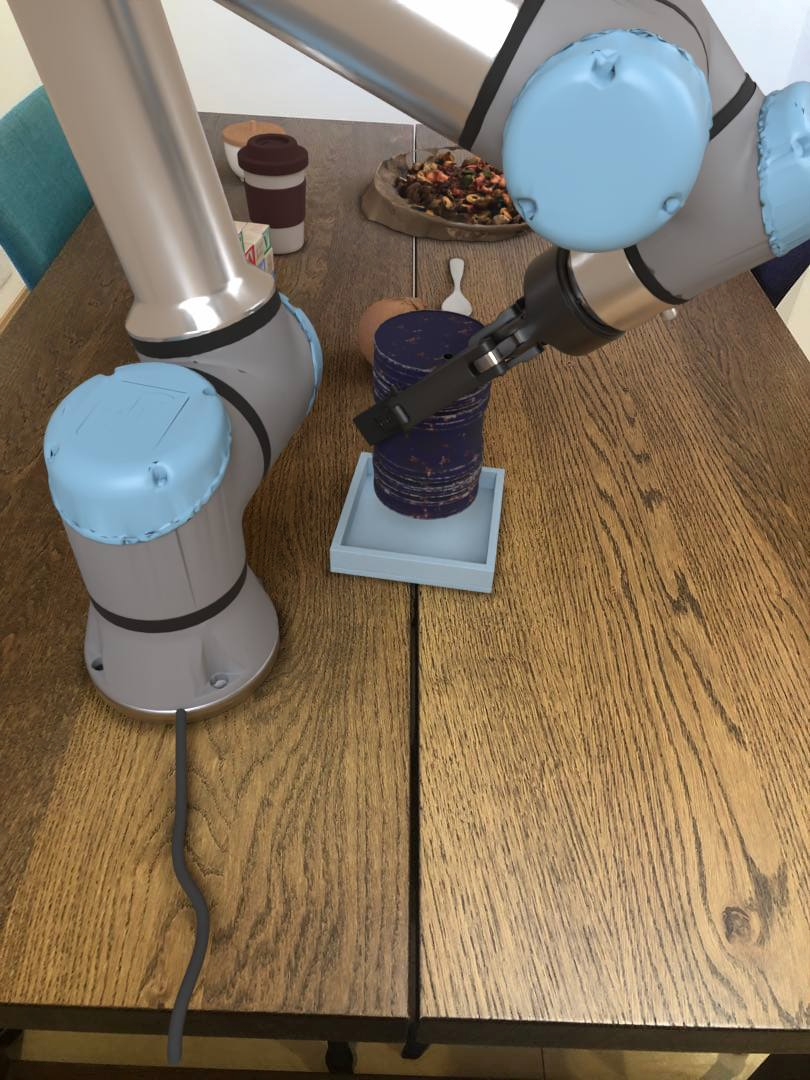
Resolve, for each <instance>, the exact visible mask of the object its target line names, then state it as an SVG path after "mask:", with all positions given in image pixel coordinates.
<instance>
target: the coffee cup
mask: <svg viewBox="0 0 810 1080" xmlns="http://www.w3.org/2000/svg"><path fill="white" fill-rule="evenodd" d="M237 158H238V165H239V167H240V168H241V169H243V171H244V182H243V186H244V192H245V198H246V204H247V211H248V217H249V220H250V221H251V223H257V224H265V225H269V226H270V236H271V248H272V249H273V255H287V254H292V253H295V252H297V251H299V250H301V248H302V247H303V245H304V241H305V240H304V239H305V235H304V234H305V219H306V206H307V204H306V203H307V201H306V200H307V198H306V197H307V179H306V176H305V169H306V168H308V166H309V163H310V162H309V161H310V159H309V151H308V150H307V148H305V147H303V145H299V143H298V141H297V139H295V137H293V136H291V135H288V134H286V135H285V134H277V133H266V134H259V135H256V136H253V137H251V138H250V139H249V140H248V141H247V145H246V146H244V147H242V148H241V149H240V150H239V151H238V153H237Z"/></svg>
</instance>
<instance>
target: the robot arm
mask: <svg viewBox="0 0 810 1080" xmlns="http://www.w3.org/2000/svg"><path fill="white" fill-rule="evenodd" d="M212 1H213V2H214V3H216V4H218V5H220V6H221V7H223V8H225V9H226V10H228V11H229V12H232V13H233V14H235V15H237V16H239V17H240V18H241V19H243V20H245V21H247V22H248V23H250V24H252V25H253V26H255V27H256V28H258V29H260V30H262V31H263V32H266V34H269V35H270V36H272V37H273V38H275V39H277V40H279V41H281V42H283V43H284V44H286V45H287V46H289V47H291V48H293V49H294V50H296V51H298V52H299V53H301V54H303V55H304V56H305V57H308V58H310V59H311V60H313V61H315V62H316V63H318V64H319V65H321V66H323V67H325V68H327V69H328V70H330V71H331V72H333V73H335V74H336V75H338V76H340V77H341V78H343V79H345V80H346V81H348V82H350V83H352V84H353V85H355V86H357V87H358V88H361V90H363V91H365V92H367V93H369V94H371V95H372V96H373V97H376V98H377V99H379V100H381V101H383V102H384V103H386V104H387V105H389V106H390V107H393V108H394V109H396V110H397V111H399V112H401V113H403V114H405V115H406V116H408V117H409V118H411V119H413V120H414V121H416V122H418V123H420V124H421V125H423V126H425V127H426V128H428V129H430V130H431V131H433V132H435V133H436V134H438V135H440V136H441V137H443V138H445V139H446V140H448V141H450V142H452V143H454V144H455V145H459V146H460V147H462V148H464V149H465V150H466V151H467V152H469V153H470V154H472V155H474V156H477V157H479V158H480V159H482V160H483V161H485V162H486V163H488V164H490V165H491V166H493V167H494V168H496V169H498V170H499V171H501V172H502V173H504V179H505V183H506V187H507V191H508V193H509V195H510V197H511V199H512V201H513V203H514V205H515V207H516V209H517V211H518V212H519V213H520V215H521V216H522V218H523V219H524V220H525V221H526V222H527V224H528V225H529V226H530V227H531V229H532V231H533V232H534V233H535V234H537V236H540V238H542V239H543V240H545V241H547V242H549V243H550V244H552V245H551V246H549V248H547V249H545V250H543V252H541V253H539V254H538V255H537V256H535V257H534V258H533V259H532V260H531V261H530V262H529V264H528V265H527V267H526V270H525V272H524V276H523V281H522V282H523V284H522V290H523V295H521V297H519V298H518V299H516V300H515V301H514V303H513V304H511V305H510V306H508V307H506V308H505V309H504V310H502V311H500V313H498V314H497V316H496V318H495V319H494V321H492V322H490V323H488V324H487V323H486V324H484V325H485V326H486V327H485V328H483V329H482V330H480V331H479V332H477V333H476V334H474V335H473V336H472V337H471V338H470V339H469V341H468V347H467V348H466V349H464V350H463V351H461V352H460V353H458V354H457V355H455V356H454V357H452V358H451V359H449V360H448V361H446V362H445V363H443V364H442V365H440V366H439V367H437V368H436V369H434V370H433V371H431V372H430V373H428V374H427V375H425V376H424V377H422V378H421V379H419V380H418V381H416V382H415V383H413V384H412V385H410V386H409V387H407V388H405V387H402V388H400V386H399V385H398V383H395V384H394V385H392V386H391V387H390V388H389V390H390V391H391V393H392V394H391V395H389V396H388V397H386V398H385V399H383V400H381V401H380V402H378V403H376V404H375V403H374V404H373V405H372V406H370V407H368V408H366V409H365V410H363V411H361V412H360V413H358V414H357V415H355V416H354V417H353V418H351V421H352V422H353V424H354V425H355V427H356V428H357V430H358V431H359V433H360V434H361V435H362V437H363V438H364V440H365V441H366V443H367V444H368V446H369V447H373V445H374V444H376V443H378V442H380V441H382V440H383V439H385V438H387V437H389V436H391V435H392V434H394V433H396V432H398V431H400V430H403V431H404V432H407V431H408V430H409V431H410V430H412V429H413V428H414V426H415V425H417V424H419V423H420V422H422V421H424V420H425V419H427V418H428V417H430V416H432V415H433V414H435V413H437V412H438V411H440V410H442V409H443V408H445V407H447V406H448V405H450V404H452V403H453V402H455V401H457V400H458V399H460V398H462V397H463V396H465V395H466V394H468V393H470V392H471V391H473V390H475V389H476V388H478V387H480V386H481V385H483V384H485V383H487V382H489V381H491V380H492V381H493V380H494V379H497V378H498V377H499V378H501V377H503V376H505V375H506V374H507V372H508V371H510V370H511V369H513V368H514V367H516V366H518V365H519V364H521V363H528V362H531V360H534V359H535V358H537V357H538V356H540V355H541V354H543V353H544V352H545V351H546V348H545V346H550V347H552V348H553V349H555V350H556V351H557V352H559V353H561V354H564V355H566V356H570V357H584V356H587V355H589V354H591V353H593V352H594V351H597V350H598V349H600V348H602V347H604V346H606V345H608V344H610V343H613V342H614V341H616V340H618V339H620V338H622V337H623V336H624V335H625V334H626V333H627V332H630V331H632V330H633V331H634V330H635V329H637V328H640V327H641V326H643V325H645V324H646V323H647V324H648V323H649V322H651V321H653V320H654V319H655V318H656V317H657V316H658V315H659V316H660V318H661V319H662V320H663V321H664V322H666V323H667V322H670V321H673V320H675V318H676V317H677V316H678V310H677V309H676V308H677V307H679V306H680V305H683V304H686V303H688V302H689V301H692V300H693V299H695V298H696V297H698V296H700V295H702V294H705V293H706V292H709V291H710V290H712V289H714V288H716V287H718V286H720V285H722V284H724V283H726V282H728V281H730V280H732V279H734V278H736V277H738V276H740V275H741V274H744V273H746V272H748V271H750V270H752V269H754V268H756V267H758V266H760V265H763V264H764V263H766V262H769V261H771V260H773V259H774V258H781V257H783V256H785V255H787V254H788V253H789V252H790V251H792V250H793V249H794V248H795V249H796V248H797V247H798V246H800V245H802V244H804V243H805V242H807V241H809V240H810V81H808V80H807V81H806V80H798V81H795V82H792V83H790V84H788V85H787V86H785V87H783V88H781V89H776V90H775V89H774V90H773V91H771V92H769V93H768V94H764V92H763V91H762V90H761V88H760V86H759V85H758V84H757V82H756V81H755V80H753V79H752V77H751V76H750V74H749V73H748V72H746V71H745V69H744V67H743V65H742V63H740V61H739V59H738V57H737V56H736V54H735V53H734V50H732V48H731V46H730V45H729V43H728V41H727V39H726V38H725V36H724V34H723V33H722V32H721V30H720V28H719V27H718V25H717V23H716V22H715V20H714V18H713V17H712V14H711V13H710V12H709V10H708V8H707V6H706V5H705V3H704V2H703V0H212ZM6 2H7V5H8V7H9V10H10V12H11V14H12V16H13V19H14V21H15V24H16V26H17V28H18V30H19V33H20V35H21V38H22V40H23V42H24V44H25V46H26V48H27V51H28V54H29V56H30V58H31V59H32V63H33V66H34V67H35V70H36V72H37V74H38V76H39V78H40V81H41V83H42V86H43V88H44V90H45V93H46V95H47V97H48V100H49V102H50V104H51V107H52V109H53V112H54V113H55V116H56V118H57V120H58V123H59V125H60V127H61V130H62V132H63V134H64V137H65V139H66V141H67V144H68V146H69V148H70V151H71V153H72V155H73V157H74V161H75V162H76V165H77V166H78V169H79V171H80V173H81V176H82V178H83V180H84V183H85V185H86V187H87V190H88V192H89V194H90V197H91V199H92V201H93V203H94V206H95V208H96V211H97V212H98V215H99V217H100V220H101V222H102V224H103V227H104V229H105V231H106V233H107V236H108V237H109V241H110V243H111V246H112V247H113V249H114V252H115V255H116V257H117V259H118V260H119V263H120V265H121V268H122V271H123V273H124V275H125V277H126V280H127V282H128V284H129V287H130V289H131V291H132V294H133V295H134V297H133V298H134V299H133V301H132V302H131V306H130V308H129V310H128V312H127V314H126V316H125V320H124V327H125V330H126V333H127V335H128V337H129V339H130V341H131V344H132V346H133V348H134V350H135V353H136V355H137V357H138V359H139V362H134V363H129V364H125V365H121V366H117V367H115V368H114V373H113V374H111V375H105V374H102V373H98V374H96V375H94V376H92V377H90V378H88V379H86V380H85V381H83V382H82V383H81V384H79V385H78V386H76V387H75V388H74V389H73V390H72V391H70V392H69V393H68V394H67V395H66V396H65V397H64V398H63V399H62V400H61V401H60V403H59V404H58V405H57V406H56V408H55V410H54V411H53V413H52V415H50V418H49V420H48V424H47V426H46V428H45V431H44V437H43V457H44V462H45V467H46V470H47V474H48V479H47V480H48V481H47V482H48V487H49V491H50V496H51V499H52V501H53V505H54V507H55V508H56V510H57V512H58V514H59V516H60V519H61V522H62V524H63V527H64V530H65V533H66V535H67V538H68V541H69V543H70V544H69V545H70V546H71V549H72V551H73V555H74V558H75V561H76V564H77V567H78V569H79V571H80V574H81V576H82V577H81V578H82V580H83V582H84V585H85V587H86V591H87V593H88V596H89V607H88V615H87V621H86V629H85V636H84V645H83V656H84V663H85V667H86V669H87V672H88V675H89V677H90V680H91V683H92V685H93V687H94V689H95V691H96V692H97V694H98V695H99V697H100V698H101V699H102V700H103V701H104V703H106V704H107V705H108V706H109V707H110V708H112V709H113V710H115V711H116V712H117V713H119V714H120V715H121V714H122V715H123V716H125V717H128V718H130V719H132V720H135V721H138V722H142V723H147V724H151V725H152V724H153V725H166V726H167V725H170V726H173V725H175V743H174V744H175V751H174V753H175V754H174V755H175V757H174V759H175V762H174V765H175V766H174V767H175V768H174V769H175V771H174V772H175V773H174V774H175V778H174V779H175V795H174V796H175V806H174V807H175V808H174V821H173V827H172V828H173V829H172V835H171V861H172V862H171V863H172V868H173V872H174V874H175V877H176V879H177V881H178V882H179V885H180V886H181V888H182V890H183V892H184V893H185V894H186V896H187V897H188V899H189V901H190V902H191V905H192V907H193V909H194V913H195V917H196V918H195V919H196V933H195V940H194V945H193V949H192V953H191V955H190V959H189V962H188V964H187V968H186V970H185V973H184V975H183V977H182V981H181V983H180V986H179V988H178V992H177V993H176V997H175V1001H174V1003H173V1007H172V1011H171V1014H170V1021H169V1024H168V1032H167V1033H168V1034H167V1045H166V1047H167V1048H166V1060H167V1062H168V1066H171V1067H175V1066H178V1065H179V1063H180V1062H181V1060H182V1055H183V1036H184V1027H185V1021H186V1016H187V1012H188V1008H189V1005H190V1002H191V999H192V995H193V993H194V990H195V988H196V985H197V981H198V979H199V976H200V973H201V971H202V969H203V965H204V962H205V959H206V955H207V951H208V945H209V940H210V924H211V923H210V912H209V911H210V910H209V906H208V903H207V900H206V897H205V895H204V894H203V892H202V890H201V889H200V887H199V886H198V884H197V883H196V881H195V880H194V878H193V876H192V875H191V873H190V872H189V868H188V866H187V864H186V860H185V859H186V858H185V851H184V850H185V849H184V845H185V835H186V826H187V818H188V817H187V814H188V769H187V768H188V767H187V766H188V765H187V764H188V763H187V762H188V761H187V756H188V755H187V754H188V753H187V751H188V750H187V748H188V747H187V746H188V745H187V743H188V742H187V741H188V740H187V737H188V736H187V732H188V731H187V724H192V723H196V722H202V721H204V720H207V719H210V718H213V717H216V716H218V715H221V714H223V713H225V712H228V711H229V710H231V709H233V708H234V707H236V706H238V705H239V704H241V703H242V702H243V701H245V700H246V699H248V698H249V697H250V696H251V695H253V694H254V693H255V692H256V691H257V690H258V689H259V688H260V687H261V686H262V684H263V683H264V682H265V681H266V680H267V678H268V676H269V675H270V674H271V672H272V670H273V669H274V668H273V667H274V666H275V664H276V661H277V658H278V655H279V651H280V644H281V642H280V640H281V639H280V628H279V619H278V614H277V610H276V607H275V604H274V603H273V601H272V600H271V598H270V596H269V595H268V593H267V592H266V591H265V587H264V585H263V581H262V579H261V578H260V577H258V576H257V575H255V573H254V572H253V570H252V569H251V567H250V565H249V564H248V560H247V553H246V545H245V537H244V532H243V523H242V522H243V516H244V512H245V510H246V507H247V505H248V504H249V502H250V501H251V499H252V498H253V496H254V494H255V493H256V491H257V489H258V488H259V486H260V485H261V484H262V481H263V480H264V479H265V477H266V476H267V475H268V473H269V471H270V470H271V468H272V467H273V466H274V464H275V463H276V461H277V460H278V458H279V457H280V455H281V454H282V452H283V451H284V450H285V448H286V447H287V446H288V443H289V442H290V441H291V439H292V438H293V436H294V435H295V433H296V432H297V430H298V429H299V428H300V427H301V425H302V424H303V423H304V421H305V419H307V417H308V415H309V414H310V412H311V410H312V407H313V404H314V401H315V399H316V396H317V394H318V391H319V388H320V386H321V382H322V379H323V378H322V377H323V371H324V360H323V359H324V358H323V350H322V347H321V343H320V339H319V336H318V335H317V334H318V333H317V332H316V330H315V328H314V326H313V324H312V322H311V321H310V319H309V318H308V316H307V315H306V314H305V312H304V311H303V310H302V309H301V308H300V307H295V306H294V305H292V304H291V303H290V299H289V297H287V296H286V295H284V293H281V292H279V288H278V285H277V282H276V279H275V280H274V278H273V276H272V275H271V274H270V273H269V272H267V271H265V270H264V269H262V268H260V267H258V266H256V265H254V264H252V263H250V262H249V261H248V260H247V258H246V256H245V253H244V250H243V247H242V244H241V241H240V238H239V235H238V232H237V229H236V226H235V223H234V221H235V220H234V217H233V215H232V214H233V213H232V211H231V209H230V206H229V205H230V204H229V203H228V200H227V196H226V193H225V190H224V187H223V185H222V182H221V179H220V175H219V172H218V170H217V166H216V164H215V161H214V157H213V154H212V152H211V149H210V145H209V142H208V139H207V136H206V133H205V130H204V127H203V124H202V121H201V117H200V115H199V112H198V110H197V106H196V103H195V99H194V96H193V94H192V91H191V88H190V84H189V82H188V80H187V76H186V74H185V70H184V67H183V64H182V61H181V58H180V54H179V51H178V49H177V46H176V43H175V39H174V37H173V34H172V31H171V28H170V24H169V22H168V19H167V16H166V13H165V10H164V6H163V4H162V3H163V2H162V1H161V0H6ZM464 149H463V150H464ZM491 332H492V333H491ZM490 333H491V334H490ZM488 334H490V335H489V336H488V337H487V339H483V340H482V338H484V337H485V336H487V335H488Z"/></svg>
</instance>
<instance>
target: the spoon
mask: <svg viewBox="0 0 810 1080" xmlns="http://www.w3.org/2000/svg"><path fill="white" fill-rule="evenodd" d="M464 266H465V261H464V260H463V259H461V258H459V257H456V258H451V259H450V261H449V268H450V275H451V277H452V280H453V283H454V290H453V292H452V293H451V294H449V296H447V298H446V299H445V300H443V302H442V304H441V307H440V308H441V309H440V310H445V311H451V312H456V313H460V314H464V315H467V316H469V317H470V315H471V314H472V312H473V308H472V304H471V303H470V302H469V300H468V299H467V298H466V297H465V296H464V295H463V293H462V291H461V281H462V278H463V274H464V268H465V267H464Z"/></svg>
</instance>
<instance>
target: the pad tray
mask: <svg viewBox="0 0 810 1080" xmlns="http://www.w3.org/2000/svg"><path fill="white" fill-rule="evenodd" d="M358 457H359V458H358V460H357V464H356V467H355V470H354V472H353V476H352V479H351V482H350V486H349V489H348V492H347V495H346V498H345V501H344V504H343V506H342V509H341V513H340V516H339V520H338V523H337V526H336V529H335V532H334V534H333V539H332V541H331V545H330V547H329V563H330V564H329V567H330V570H329V571H330V572H331V573H338V574H345V575H352V576H359V577H365V578H366V577H367V578H375V579H381V580H387V581H388V580H389V581H398V582H403V583H409V584H418V585H425V586H434V587H441V588H449V589H455V590H462V591H470V592H477V593H484V594H485V593H486V594H491V593H492V589H493V583H494V576H495V569H496V568H495V567H496V559H497V549H498V542H499V541H498V539H499V529H500V523H501V522H500V521H501V513H502V503H503V494H504V492H503V491H504V483H505V473H506V469H505V468H499V467H490V466H483V465H482V471H481V474H480V478H479V489H478V494H477V497H476V499H475V501H474V502H473V503H472V505H470V506H469V507H468V508H467V509H466V510H464V511H462V512H461V513H459V514H456V515H454V516H451V517H448V518H443V519H435V520H421V519H414V518H410V517H406V516H403V515H400V514H397V513H395V512H394V511H392V510H390V509H389V508H387V507H386V506H384V505H383V504H382V503H381V502H380V500H379V499H378V497H377V496H376V494H375V491H374V469H373V464H372V452H367V451H361V452H360V454H359V456H358Z"/></svg>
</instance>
